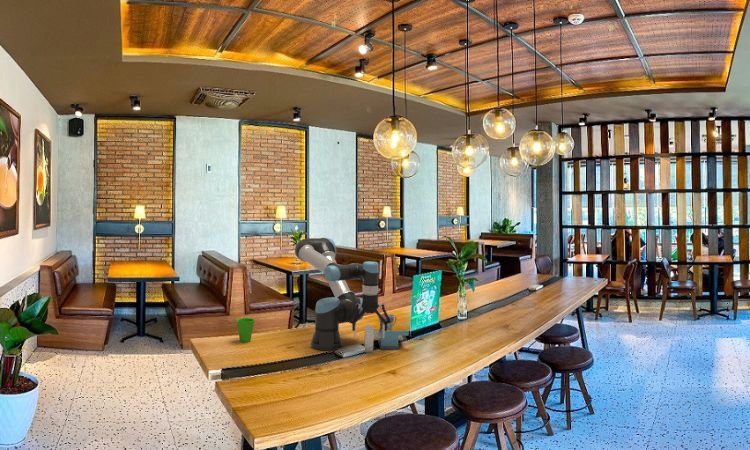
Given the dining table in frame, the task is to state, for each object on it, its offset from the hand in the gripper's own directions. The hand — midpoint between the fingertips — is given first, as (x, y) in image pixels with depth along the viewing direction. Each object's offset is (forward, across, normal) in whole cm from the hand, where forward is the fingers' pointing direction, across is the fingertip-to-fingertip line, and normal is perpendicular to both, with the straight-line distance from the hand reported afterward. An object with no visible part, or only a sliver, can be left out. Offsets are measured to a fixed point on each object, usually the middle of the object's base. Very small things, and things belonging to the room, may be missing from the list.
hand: (369, 337), depth 229 cm
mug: (+7, +12, +29) cm, 32 cm away
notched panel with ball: (+7, +11, +11) cm, 17 cm away
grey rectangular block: (+7, 0, 0) cm, 7 cm away
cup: (+6, -62, +15) cm, 64 cm away
